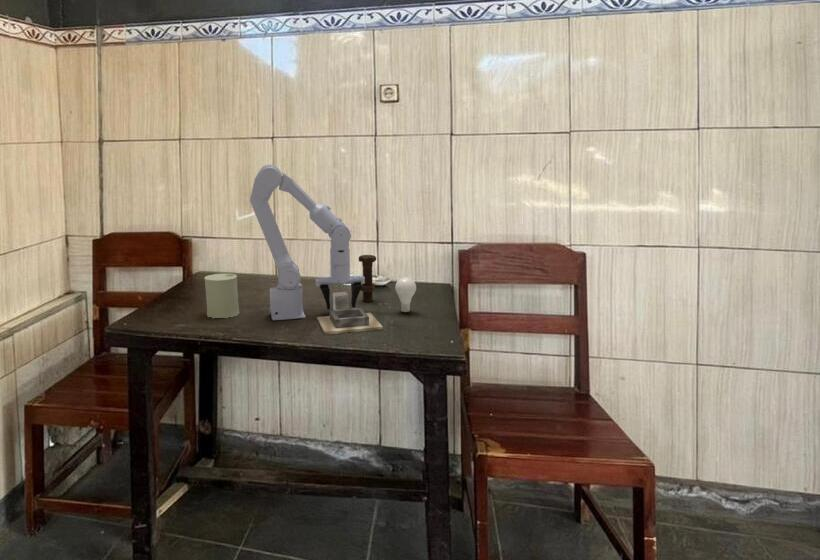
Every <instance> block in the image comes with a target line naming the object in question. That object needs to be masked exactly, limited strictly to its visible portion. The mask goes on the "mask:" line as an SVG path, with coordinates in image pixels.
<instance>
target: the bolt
mask: <svg viewBox="0 0 820 560" xmlns="http://www.w3.org/2000/svg"><path fill="white" fill-rule="evenodd" d="M376 261H377V256H375V255H372V254H362V255H359V257H358V262H361V266H362V276H364V277H365V284H361V285H362V288H361V290H360V292H362V301H363V302H367V303H368V302H369V303H370V302H373V292H374V291H375V290H376V285H375V284H374V283H373V264H374V262H376Z"/></svg>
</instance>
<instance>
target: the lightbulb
mask: <svg viewBox="0 0 820 560" xmlns="http://www.w3.org/2000/svg"><path fill="white" fill-rule="evenodd" d="M394 286H395V287H394V289H395V292H396V294H397V295H398V297H399V301H400V305H401V306H400V308H401V309H400V311H401V312H403V313H405V314H406V313H408V312H410V311H411V310H410V309H411V301H412V298H413V296H414V295H415V293H416V291H417V284H416V282H415V281H414V279H412V278H411V277H406V276H405V277H400V278H399V279H398V280H397V282H396V283H395V285H394Z"/></svg>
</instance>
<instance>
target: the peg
mask: <svg viewBox="0 0 820 560" xmlns="http://www.w3.org/2000/svg"><path fill="white" fill-rule="evenodd" d="M332 305H333V309H332V310H341V309H350V306H349V305H350V303H349V294H348V292H347V291H340V292H332Z"/></svg>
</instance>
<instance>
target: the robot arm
mask: <svg viewBox="0 0 820 560" xmlns="http://www.w3.org/2000/svg"><path fill="white" fill-rule="evenodd" d="M277 188H278V191H280V192H281V191H282V192H285V193H288V194H290V195H291V196H292V197H293V198H294V199H295V200H296V201H298V202H299V203H300V205H302V206H303V207H304V208H305V209H306V210H308V212H309V219H310V220H311V221H312V222H313V223H314V224H315V225H316V226H317V227H318V228H319V229H320V230H321V231H323V233H324V234H327V235H328V237H329V238H330V250H329V252H330V253H329V254H330V255H329V257H330V259H329V260H330V261H329V263H330V264H329V265H330V277H329V276H328V277H321V278H315V286H316V288H317V287H319V289H320V291H321V293H322V296H323V298H324V302H325V306H326V309H327V310H328V311H330V310H331V303H330V298H331V295H330V293H331V288H330V286H338V285H340V286H342V285H350V289H351V291H350V292H351V299H350V300H351V302H350V303H351V307H352V309H354V308H356V304H357V300H358V297H359V294H360V292H361V288H362V284H365V277H364V276H363V275H358V276H357V275H354V276H353V275H352V276H351V272H350V271H351V268H350V267H351V264H350V263H351V262H350V261H351V259H350V258H351V257H350V256H351V255H350V253H351V252H350V251H351V249H350V240H351V239H352V234H351V230H350V229H349V227H347V226H346V224H345V223H344V222H343V219H342V218H339V217H338V216H336V215H335V214H334V213H333V211H331V209H332V208H331V207H330V206H329V205H325V204H323V203H317V202H315V201H314V200H313V198H312V197H311V196H310V195H309V194H308V193H307V192H306V191H305V190H304V189H303V188H302V187H301V186H300V185H299V184H298V183H297V182H296V181H295V180H294V179H293V178H292V177H290V176H289V175H287V174H286V173H284V172H283V171H282V172H281V171H280V169H279V168H278V167H277V166H276V165H274V164H266V165H263V166H262V167H261V168H260V169H259V171H258V173H257V174H256V175H255V177H254V181H253V185H252V188H251V193H250V199H249V201H250V204H251V208H252V209H253V212H254V214H255V217H256V219H257V222H258V224H259V226H260V229H261V230H262V231H261V232H262V234H263V237H264V239H265V240H266V243H267V246H268V248H269V251H270V253H271V255H272V258H273V261H274V264H275V266H276V270H277V281H278V283H277V284H276V286H275V287H270V288H269V305H270V306H269V313H270V315H271V316H270V317H271V320H272V321H283V320H295V319H306V313H304V308H303V307H304V306H303V286H302V283H300V282H301V279H302V278H301V273H300V269H299V266H298V264H296V263H295V262H294V261H293V260H292V257H291V255H290V253H289V250H288V248H287V245H286V243H285V241H284V238H283V235H282V233H281V231H280V229H279V226H278V223H277V221H276V219H275V216H274V213H273V211H272V208H271V206H270V203H269V200H270V199H271V197H272V194H273V192H274V191H275V190H276V189H277Z"/></svg>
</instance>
